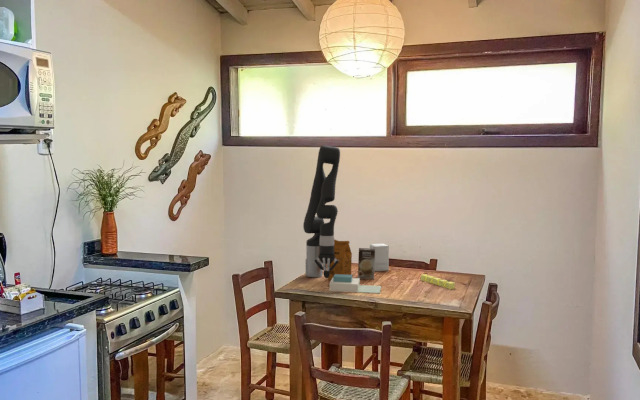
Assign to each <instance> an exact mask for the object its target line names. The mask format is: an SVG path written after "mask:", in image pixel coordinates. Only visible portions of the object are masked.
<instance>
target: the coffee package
mask: <svg viewBox="0 0 640 400" xmlns="http://www.w3.org/2000/svg"><path fill="white" fill-rule="evenodd" d="M334 242H335V244H334V255H335V258H336V259H337V260H339V262H338V263H337V265H336V266H335V267H334V268H333V270H330V276H329V277H328V278H327V280H328V281H331V280H332V278H333V277H334V275H335V274H344V275H352V261H353V260H352V257H353V254H352V250H351V247H350V240H338V239H335V238H334ZM333 264H334V260H333V262H332V263H331V264H330V267H332V266H333Z"/></svg>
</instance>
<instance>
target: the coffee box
mask: <svg viewBox="0 0 640 400" xmlns="http://www.w3.org/2000/svg"><path fill="white" fill-rule="evenodd" d="M357 259H358V260H357V261H358V264H357V278H360V279H361V280H363V279H364V280H375V271H374V266H375V249H370V247H369V248H365V247H364V248H362V247H359V248H358V258H357Z"/></svg>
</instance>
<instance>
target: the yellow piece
mask: <svg viewBox="0 0 640 400" xmlns="http://www.w3.org/2000/svg"><path fill="white" fill-rule="evenodd" d="M420 281H422V282H426V283H430V284H433V285H434V286H435V285H436V286H439V287H442V288H445V289H449V290H453V289H455V288H456V282H454V281H449V280H446V279H442V278H439V277H436V276H432V275H429V274H426V273H425V274H424V273H423V274H420Z"/></svg>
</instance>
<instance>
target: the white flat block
mask: <svg viewBox="0 0 640 400" xmlns="http://www.w3.org/2000/svg"><path fill="white" fill-rule="evenodd" d="M360 285H361V280H360V278H358V277H352V282H333V278H332V280H329V289H328V290H329V292H343V293H344V292H345V293H358V289H359V286H360Z"/></svg>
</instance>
